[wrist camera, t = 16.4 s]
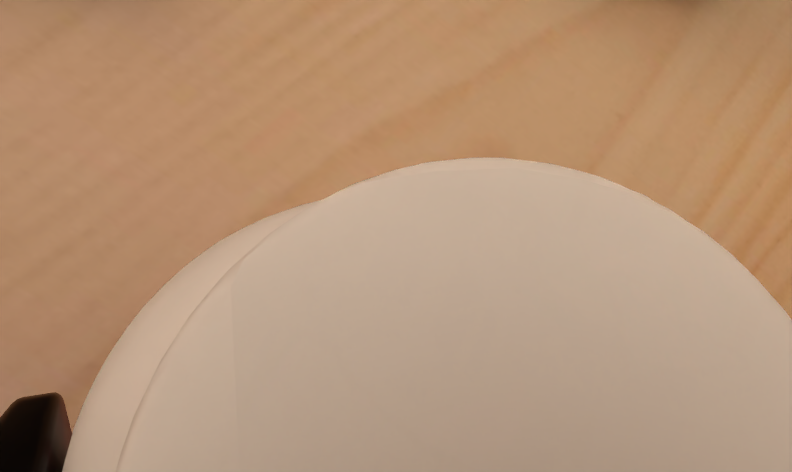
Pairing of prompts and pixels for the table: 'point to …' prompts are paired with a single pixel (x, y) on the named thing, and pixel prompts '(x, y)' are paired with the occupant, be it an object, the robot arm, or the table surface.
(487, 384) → the pill bottle
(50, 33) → the table surface
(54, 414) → the robot arm
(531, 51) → the table surface
